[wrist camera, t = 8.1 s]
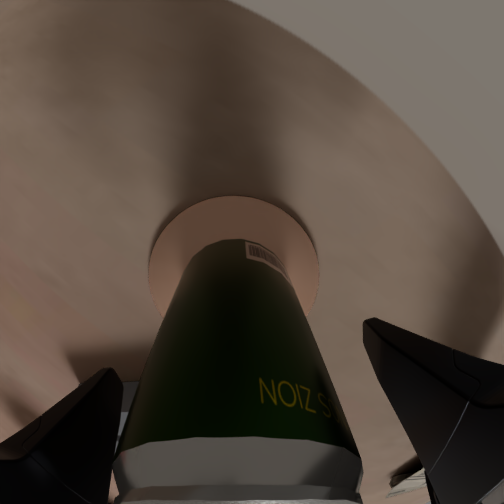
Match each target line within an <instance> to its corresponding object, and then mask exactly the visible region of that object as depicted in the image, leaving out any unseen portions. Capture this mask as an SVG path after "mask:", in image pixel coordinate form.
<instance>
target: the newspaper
mask: <svg viewBox="0 0 504 504" xmlns="http://www.w3.org/2000/svg"><path fill="white" fill-rule="evenodd" d="M424 470H425V469H424V468H422V469H421V470H420V471H418V472H417V473H410V474H402V475H397V476H395V477H392V479H391V481H390V483H389V485H390V487H391V488H393V489H392V490H391V491H390V492H389V493H388V494H387V496H386V498H388V497H392V496H395V495H399V494H403V493H406V492H410V491H413V490H416V489H419V488H422V487H426V486H427V484H426V480H425V474H424Z"/></svg>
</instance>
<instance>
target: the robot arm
mask: <svg viewBox="0 0 504 504" xmlns="http://www.w3.org/2000/svg"><path fill="white" fill-rule="evenodd" d="M363 343H364V347H365V349H366V352H367V354H368V356H369V359H370V361H371V364H372V366H373V369H374V371H375V374H376V376H377V379H378V381H379V383H380V385H381V387H382V388H383V390H384V392H385V394H386V396H387V397H388V399H389V401H390V403H391V405H392V407H393V409H394V410H395V412H396V414H397V416H398V418H399V420H400V422H401V424H402V426H403V427H404V429H405V431H406V433H407V435H408V437H409V439H410V441H411V443H412V445H413V447H414V449H415V451H416V453H417V455H418V457H419V459H420V461H421V463H422V465H423V467H424V469H425V470H424V474H425V480H426V484H427V488H428V492H429V496H430V500H431V504H504V365H502V364H498V363H494V362H491V361H487V360H484V359H480V358H477V357H474V356H471V355H468V354H466V353H463V352H460V351H458V350H455V349H452V348H450V347H447V346H445V345H442V344H440V343H437V342H435V341H432V340H430V339H427V338H425V337H422V336H420V335H417V334H415V333H412V332H410V331H407V330H405V329H402V328H400V327H397V326H395V325H392V324H390V323H388V322H385V321H383V320H380V319H378V318H375V317H373V318H370V319H367V320H364V322H363ZM123 391H124V387H123V383H122V382H121V380H120V378H119V377H118V375H117V373H116V372H115V370H114V369H113V368H102V369H101V370H100V371H98V372H97V373H96V374H94V375H93V376H92V377H90V378H89V379H88V380H87V381H85V382H84V383H83V384H81V385H80V386H79V387H77V388H76V389H75V390H73V391H72V392H71V393H70V394H68V395H67V396H66V397H64V398H63V399H62V400H60V401H59V402H58V403H56V404H55V405H54V406H53V407H51V408H50V409H49V410H47V411H46V412H45V413H43V414H42V416H39V417H38V418H37V419H35V420H34V421H33V422H31V423H30V424H29V425H27V426H26V427H24V428H23V429H21V430H20V431H18V432H17V433H15V434H14V435H12V436H11V437H9V438H8V439H6V440H5V441H3V442H1V443H0V504H108V497H109V489H110V481H111V474H112V461H113V458H114V455H115V449H116V443H117V437H118V432H119V427H120V420H121V410H122V400H123Z"/></svg>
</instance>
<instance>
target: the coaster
mask: <svg viewBox="0 0 504 504" xmlns="http://www.w3.org/2000/svg"><path fill="white" fill-rule="evenodd" d="M224 239H245V240H249V241H252V242H256V243H259V244H261V245H263V246H264V247H266V248H267V249H269V250H270V251H272V252H274V254H275V255H276V256H277V257H278V259H279V260H280V261H281V262H282V264H283V265H284V266H285V269H286V271H287V273H288V276H289V278H290V280H291V283H292V285H293V288H294V290H295V292H296V295H297V297H298V300H299V302H300V304H301V307H302V309H303V312H304V314H305V316H307V315H308V313H309V311H310V310H311V308H312V306H313V303H314V301H315V298H316V295H317V291H318V286H319V265H318V260H317V255H316V252H315V250H314V247H313V244H312V243H311V241H310V239H309V237H308V235H307V234H306V233H305V231H304V230H303V229H302V227H301V226H300V225H299V224H298V223H297V222H296V221H295V220H294V219H293V218H292V217H291V216H290V215H289V214H287V213H286V212H284V211H283V210H282V209H280V208H278V207H276V206H275V205H273V204H271V203H268V202H266V201H263V200H261V199H257V198H252V197H248V196H238V195H232V196H220V197H214V198H210V199H207V200H204V201H201V202H198V203H196V204H194V205H192V206H190V207H189V208H187V209H186V210H184V211H183V212H181V213H180V214H179V215H177V216H176V217H175V218H174V219H173V220H172V221H171V222H170V223H169V224H168V225H167V226H166V228H165V229H164V230H163V231H162V233H161V235H160V236H159V238H158V239H157V241H156V244H155V246H154V248H153V251H152V254H151V258H150V263H149V285H150V291H151V294H152V297H153V301H154V303H155V305H156V307H157V309H158V311H159V313H160V314H161V316H162V317H163V319H164V317H165V314H166V312H167V310H168V307H169V305H170V302H171V300H172V298H173V295H174V293H175V291H176V288H177V286H178V284H179V281H180V279H181V277H182V274H183V272H184V270H185V268H186V267H187V265H188V264H189V262H190V260H191V259H192V257H193V256H194V255H195V254H197V253H198V252H199V251H200V250H202V249H203V248H204V247H205V246H207V245H210V244H212V243H215V242H218V241H220V240H224Z"/></svg>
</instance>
